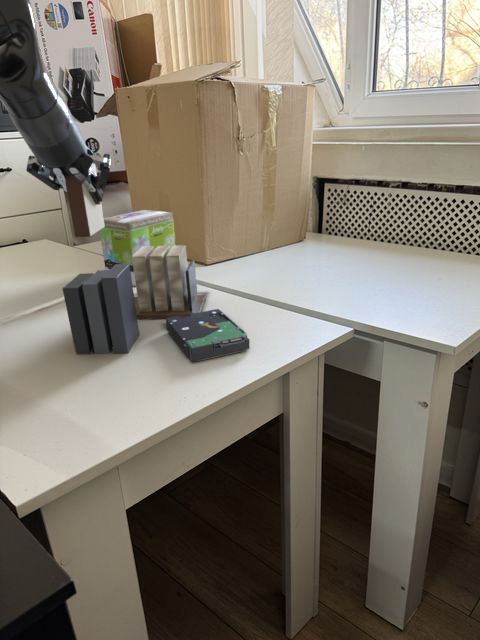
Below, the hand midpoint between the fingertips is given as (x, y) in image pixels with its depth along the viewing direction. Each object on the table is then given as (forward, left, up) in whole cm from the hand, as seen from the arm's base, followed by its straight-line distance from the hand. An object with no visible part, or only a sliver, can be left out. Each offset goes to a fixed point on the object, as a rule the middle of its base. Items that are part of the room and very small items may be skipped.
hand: (90, 200), depth 87 cm
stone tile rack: (+2, +9, -23) cm, 24 cm away
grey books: (+7, -7, -23) cm, 25 cm away
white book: (+1, -2, -5) cm, 5 cm away
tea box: (-15, +26, -23) cm, 38 cm away
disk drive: (+22, +1, -23) cm, 32 cm away
